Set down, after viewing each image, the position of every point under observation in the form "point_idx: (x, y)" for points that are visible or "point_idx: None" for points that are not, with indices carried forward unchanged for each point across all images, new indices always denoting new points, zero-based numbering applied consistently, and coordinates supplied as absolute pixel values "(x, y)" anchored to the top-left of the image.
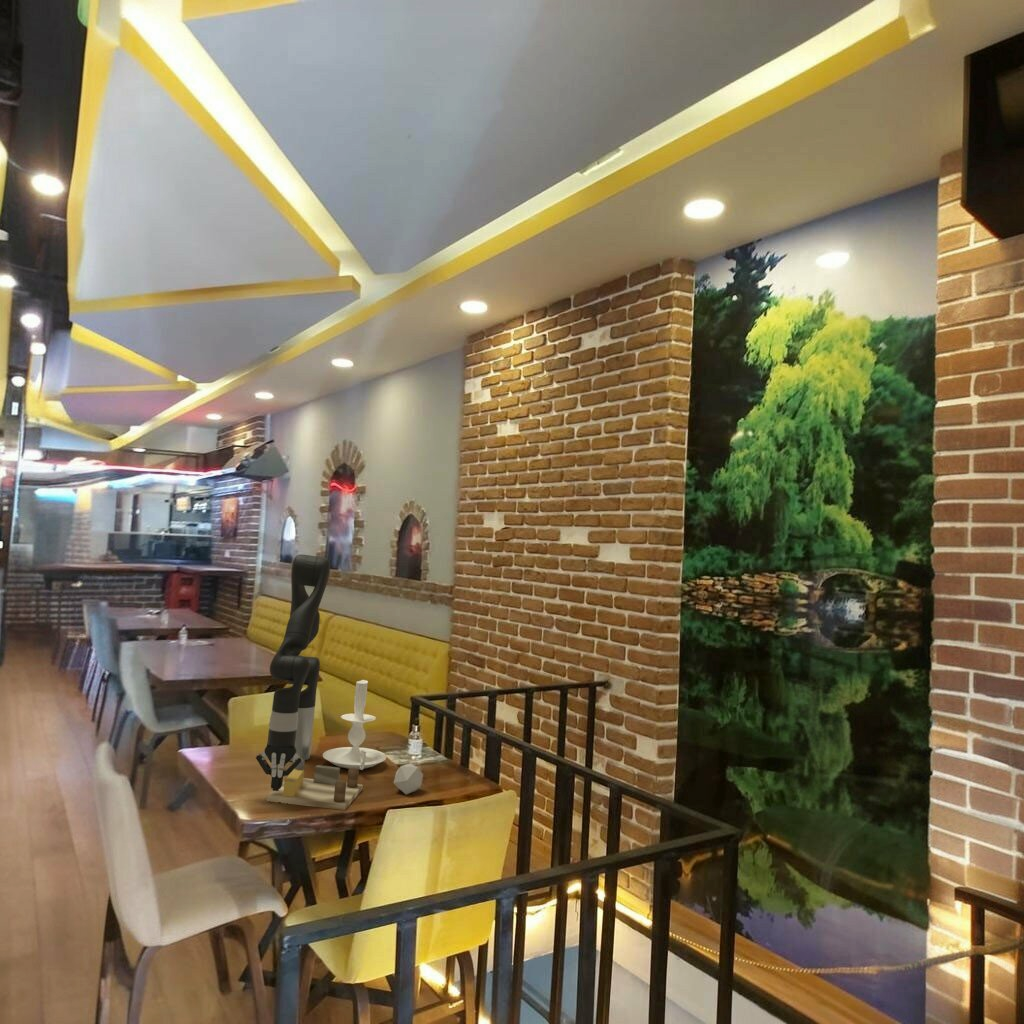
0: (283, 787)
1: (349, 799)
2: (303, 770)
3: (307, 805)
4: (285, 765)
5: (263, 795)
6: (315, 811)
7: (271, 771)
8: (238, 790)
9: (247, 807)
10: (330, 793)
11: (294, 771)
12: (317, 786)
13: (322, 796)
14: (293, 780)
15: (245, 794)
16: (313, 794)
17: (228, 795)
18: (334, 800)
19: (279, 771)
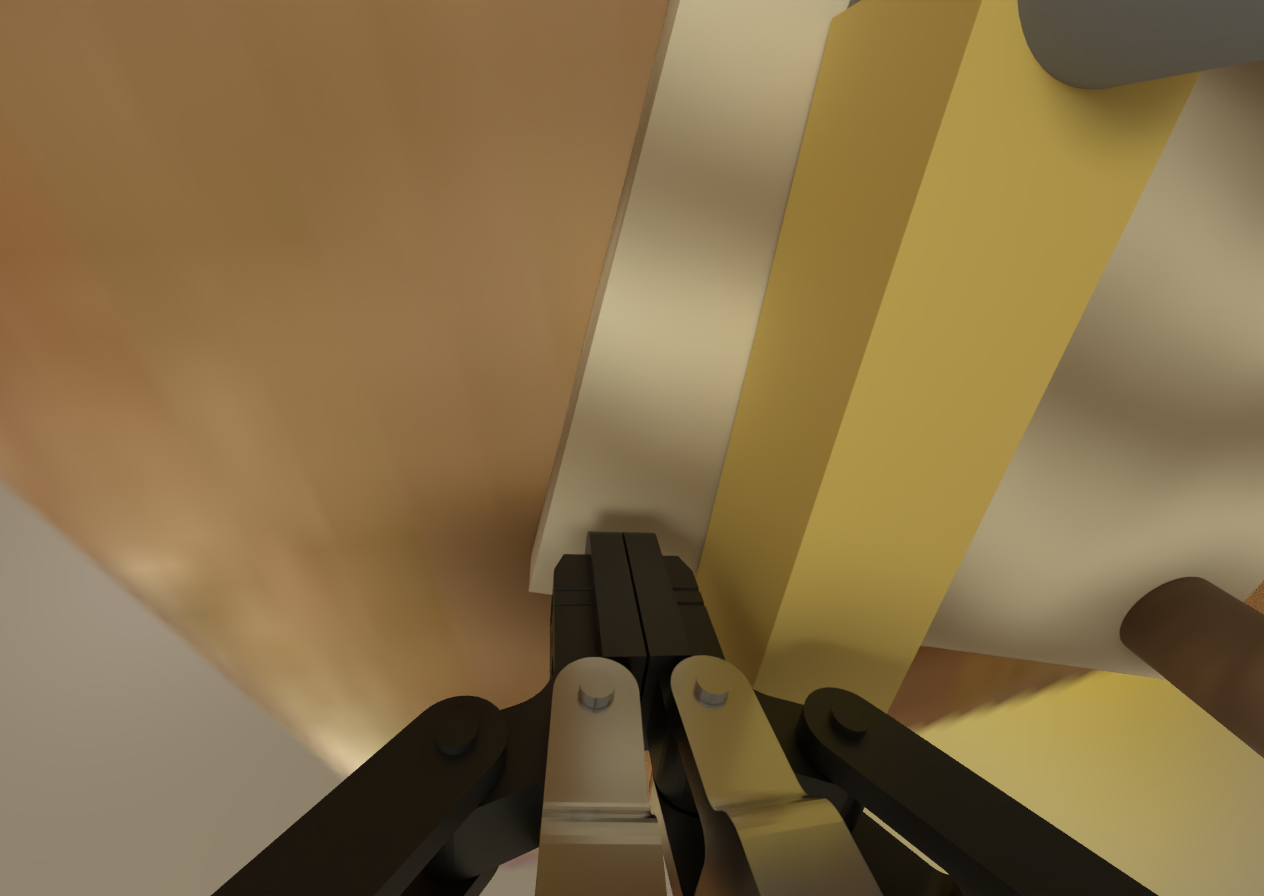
0: (688, 292)
1: (1260, 581)
2: (1181, 110)
3: None
4: (829, 819)
5: (457, 393)
6: (923, 691)
7: (530, 835)
8: (35, 217)
9: (399, 698)
10: (1176, 455)
11: (965, 213)
12: (1138, 208)
13: (1068, 543)
14: (864, 684)
15: (224, 378)
16: (1001, 501)
17: (26, 433)
18: (1127, 643)
19: (686, 869)
